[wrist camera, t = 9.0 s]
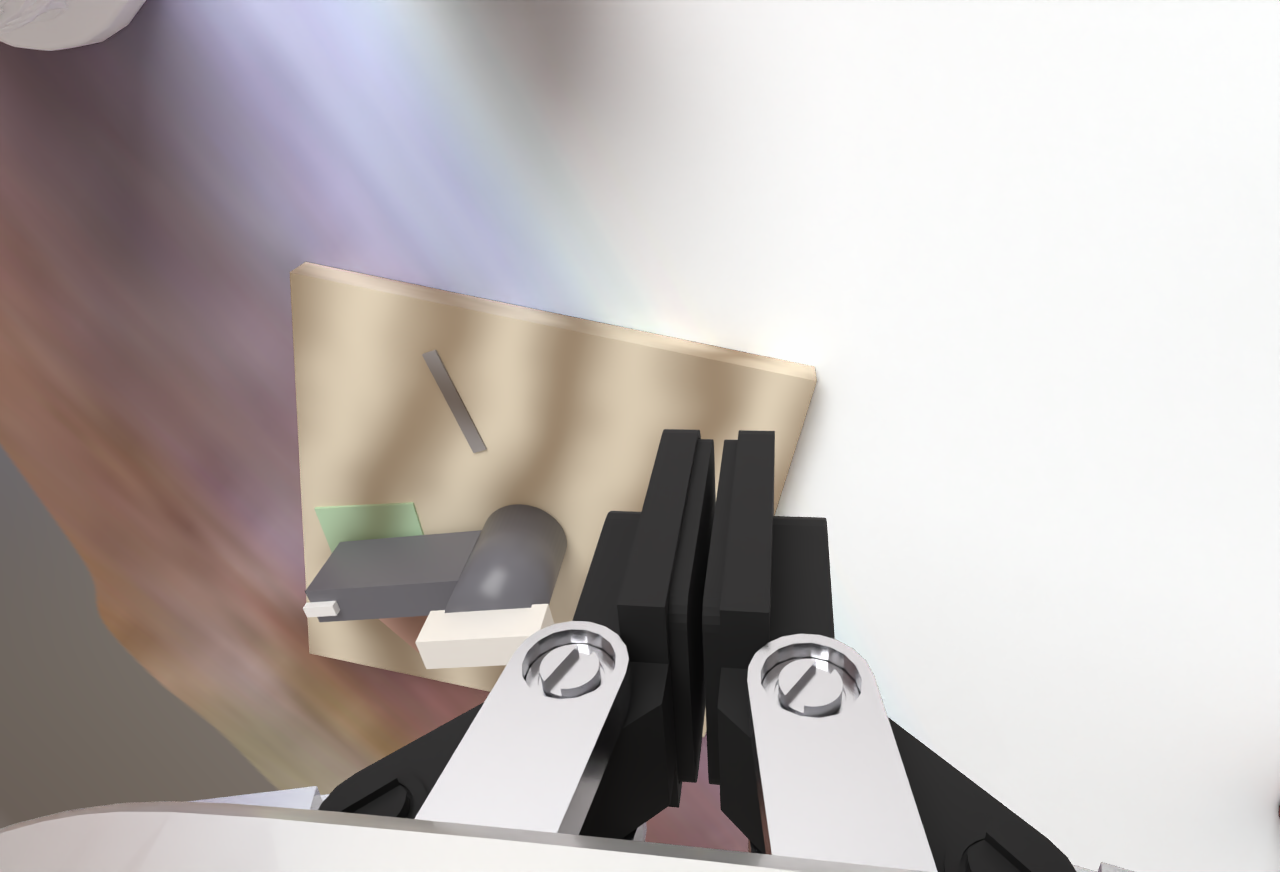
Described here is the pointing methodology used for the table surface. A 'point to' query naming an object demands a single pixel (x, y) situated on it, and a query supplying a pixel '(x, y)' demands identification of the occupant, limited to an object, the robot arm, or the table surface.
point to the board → (495, 428)
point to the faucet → (451, 585)
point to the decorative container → (63, 22)
